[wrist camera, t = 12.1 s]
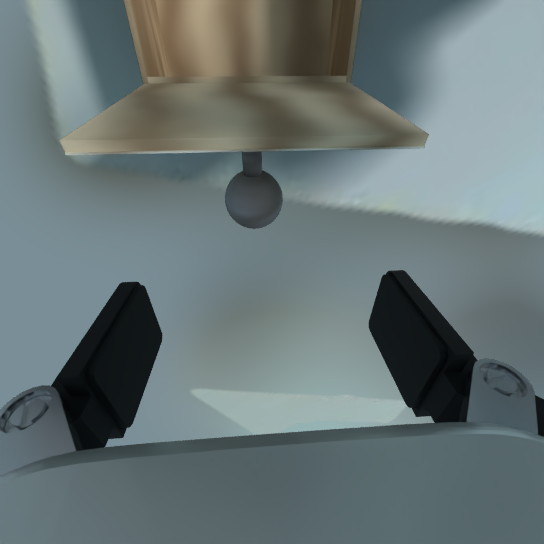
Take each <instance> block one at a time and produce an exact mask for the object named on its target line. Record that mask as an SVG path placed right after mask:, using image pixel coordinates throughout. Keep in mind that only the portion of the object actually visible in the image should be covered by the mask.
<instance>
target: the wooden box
mask: <svg viewBox="0 0 544 544" xmlns="http://www.w3.org/2000/svg"><path fill="white" fill-rule="evenodd" d="M124 3H125V8H126V12H127V16H128V20H129V25H130V29H131V33H132V38H133V42H134V46H135V50H136V55H137V59H138V63H139V67H140V72H141V76H142V80H143V83H145V84H154V83H326V82H351V78H352V70H353V63H354V56H355V48H356V41H357V33H358V26H359V19H360V11H361V4H362V0H124Z"/></svg>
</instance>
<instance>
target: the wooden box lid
mask: <svg viewBox="0 0 544 544" xmlns="http://www.w3.org/2000/svg"><path fill="white" fill-rule="evenodd" d="M428 136H429V134H428V133H426V132H425V131H423V130H422V129H420V128H419V127H417V126H416V125H414V124H412V123H411V122H409V121H408V120H406V119H405V118H403V117H402V116H400V115H399V114H397V113H396V112H394V111H393V110H391V109H390V108H388V107H387V106H385V105H384V104H382V103H380V102H379V101H377V100H376V99H374V98H373V97H371V96H370V95H368V94H367V93H365V92H364V91H362V90H361V89H359V88H358V87H356V86H355V85H353V84H352V83H350V82H326V83H154V84H143V85H141V86H140V87H139V88H137V89H136V90H134V91H133V92H131V93H130V94H128V95H127V96H125V97H124V98H122V99H121V100H119V101H118V102H116V103H115V104H113V105H112V106H110V107H109V108H107V109H106V110H104V111H103V112H101V113H100V114H98V115H97V116H95V117H94V118H92V119H91V120H89V121H88V122H86V123H85V124H83V125H82V126H80V127H79V128H77V129H76V130H74V131H73V132H71V133H70V134H68V135H67V136H65V137H64V138H62V139H61V140H59V141H60V143H61V145H62V147H63V148H64V150H65V152H66V153H65V155H106V154H157V153H208V152H242V159H243V171H242V172H240V173H238V174H237V175H236V176H234V177H233V179H232V180H231V181H230V183H229V184H228V186H227V189H226V193H225V203H226V207H227V210H228V212H229V214H230V216H231V217H232V218H233V219H234V220H235V221H236V222H237V223H238V224H240V225H242V226H244V227H247V228H254V229H255V228H262V227H265V226H267V225H269V224H270V223H271V222H273V221H274V220H275V219H276V217H277V216H278V214H279V212H280V210H281V207H282V201H283V200H282V192H281V189H280V186H279V184H278V182H277V181H276V180H275V179H274V178H273V177H272V176H271V175H270V174H268V173H267V172H265V171H262V151H310V150H361V149H412V148H425V143H426V141H427V138H428Z"/></svg>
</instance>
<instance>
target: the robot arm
mask: <svg viewBox="0 0 544 544" xmlns="http://www.w3.org/2000/svg"><path fill="white" fill-rule="evenodd" d="M369 329H370V332H371V333H372V336H373V338H374V340H375V342H376V344H377V346H378V348H379V350H380V352H381V354H382V356H383V358H384V360H385V363H386V365H387V367H388V369H389V371H390V373H391V375H392V377H393V379H394V381H395V383H396V385H397V387H398V389H399V391H400V393H401V395H402V397H403V399H404V401H405V403H406V405H407V406H408V407H410V408H412V410H413V412H414V414H415V415H416V417H421V416H431V417H432V419H433V421H434V422H435V423H426V424H405V425H390V426H375V427H360V428H345V429H331V430H316V431H303V432H289V433H275V434H261V435H249V436H235V437H221V438H208V439H195V440H183V441H170V442H157V443H146V444H136V445H126V446H114V447H105V446H106V443H107V441H108V439H114V438H123V437H124V434H125V431H126V428H128V427H130V426H131V425H132V424H133V421H134V418H135V415H136V413H137V410H138V407H139V404H140V401H141V399H142V396H143V393H144V390H145V387H146V384H147V381H148V379H149V376H150V373H151V370H152V368H153V365H154V361H155V359H156V356H157V353H158V351H159V348H160V345H161V342H162V332H161V329H160V327H159V324H158V321H157V318H156V316H155V313H154V310H153V307H152V304H151V302H150V299H149V296H148V293H147V291H146V288H145V286H143V285H140V283H139V282H123V283H120V284H119V286H118V287H117V289H116V290H115V292H114V293H113V295H112V296H111V298H110V299H109V300H108V302H107V303H106V305H105V307H104V308H103V309H102V311H101V312H100V314H99V316H98V317H97V318H96V320H95V321H94V323H93V324H92V326H91V327H90V329H89V330H88V332H87V333H86V335H85V336H84V338H83V339H82V340H81V342H80V344H79V345H78V346H77V348H76V349H75V351H74V352H73V354H72V355H71V357H70V358H69V360H68V361H67V363H66V364H65V366H64V367H63V369H62V370H61V372H60V373H59V375H58V376H57V378H56V379H55V381H54V382H53V384H52V385H51V386H38V387H33V388H31V389H28V390H26V391H24V392H22V393H20V394H19V395H17V396H16V397H14V398H13V399H11V400H10V401H9V402H8V403H6V405H4V406H3V407H2V408H1V410H0V544H544V399H542V398H539V397H538V396H536V395H535V393H534V389H533V386H532V385H531V383H530V382H529V381H528V379H527V378H526V377H525V376H524V375H523V374H522V373H520V372H519V371H517V370H516V369H515V368H513V367H512V366H509V365H507V364H506V363H504V362H501V361H498V360H495V359H487V358H486V359H480V360H477V359H476V358H475V357H474V355H473V354H474V352H473V351H472V350H471V349H470V348H469V346H468V345H467V344H466V343H465V342H464V341H463V340H462V338H461V337H460V336H459V335H458V333H457V332H456V331H455V330H454V329H453V327H452V326H451V325H450V324H449V323H448V321H447V320H446V319H445V318H444V317H443V316H442V314H441V313H440V312H439V311H438V310H437V308H436V307H435V306H434V305H433V304H432V302H431V301H430V300H429V299H428V298H427V296H426V295H425V294H424V293H423V292H422V291H421V290H420V288H419V287H418V286H417V285H416V283H414V281H413V280H412V279H411V277H410V276H409V275H408V274H407V273H406V272H405V271H403V270H398V271H388V272H387V273H386V275H383V276H382V279H381V282H380V286H379V289H378V292H377V296H376V299H375V303H374V306H373V309H372V313H371V316H370V320H369Z"/></svg>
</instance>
